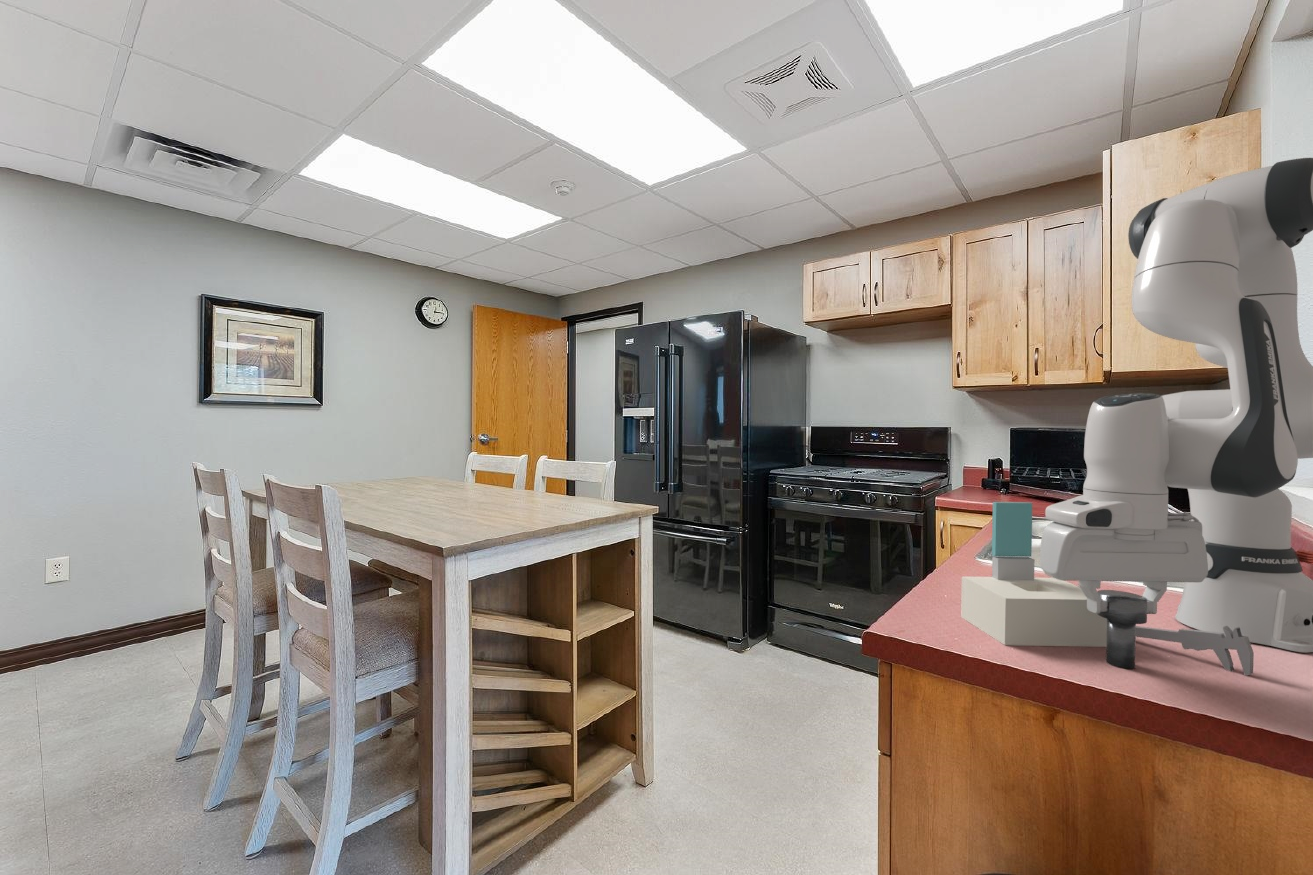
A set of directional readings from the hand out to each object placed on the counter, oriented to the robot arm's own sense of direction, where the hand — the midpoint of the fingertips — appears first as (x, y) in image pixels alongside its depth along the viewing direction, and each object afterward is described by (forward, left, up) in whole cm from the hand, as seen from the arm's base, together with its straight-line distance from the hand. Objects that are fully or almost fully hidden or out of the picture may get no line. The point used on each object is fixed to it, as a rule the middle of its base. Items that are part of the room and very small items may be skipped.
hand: (1121, 612), depth 74 cm
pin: (0, 0, -7) cm, 7 cm away
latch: (+4, -17, +8) cm, 19 cm away
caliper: (-10, -6, -8) cm, 14 cm away
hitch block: (+4, -12, -7) cm, 15 cm away
